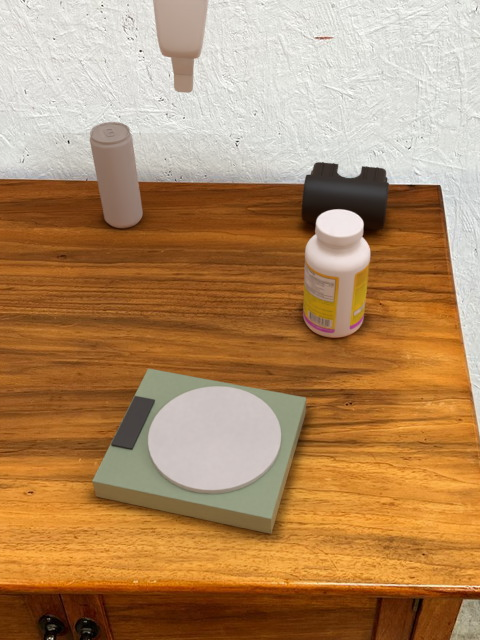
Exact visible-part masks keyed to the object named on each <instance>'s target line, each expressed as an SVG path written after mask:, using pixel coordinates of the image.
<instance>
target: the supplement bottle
mask: <svg viewBox="0 0 480 640" xmlns="http://www.w3.org/2000/svg"><path fill="white" fill-rule="evenodd" d="M363 226H364V224H363V220H362V219H361V217H359V216H358V215H357V214H355V213H354V212H351V211H348V210H342V209H335V210H329V211H326V212H324V213H322V214H321V215H319V217H318V218H317V220H316V224H315V229H314V232H315V234H314V235H313V236H311V238H309V240H308V242H307V243H306V245H305V248H304V271H303V272H304V275H303V301H302V303H303V304H302V305H303V306H302V313H303V315H302V317H303V320H304V323H305V325H306V326H307V327H308V328H309V329H310V330H311V331H312V332H313V333H315V334H317V335H318V336H322V337H325V338H335V339H337V338H344V337H347V336H350V335H352V334H354V333H355V332H357V331H358V330H359V329H360V327H361V326H362V325H363V323H364V319H365V318H364V317H365V312H366V311H365V309H366V300H367V291H368V283H369V273H370V263H371V248H370V245H369V243H368V242H367V240H366V239H365V237H363V235H364V229H363Z"/></svg>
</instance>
